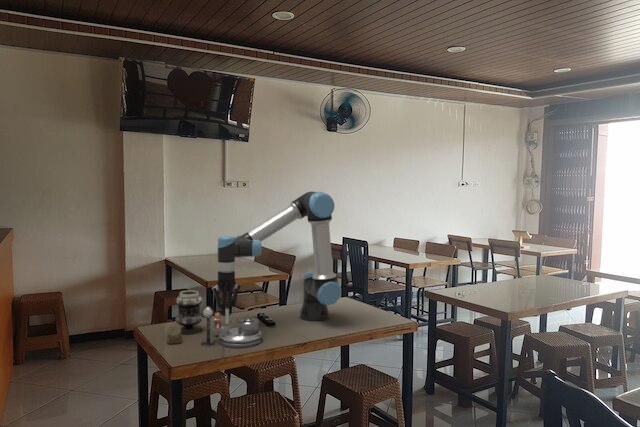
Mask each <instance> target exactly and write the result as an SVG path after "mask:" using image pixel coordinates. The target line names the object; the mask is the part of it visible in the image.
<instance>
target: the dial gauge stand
mask: <svg viewBox="0 0 640 427" xmlns="http://www.w3.org/2000/svg"><path fill="white" fill-rule="evenodd" d="M201 315H202V318H204V319H206V338H203V339H202V340H201V342H200V345H201V346H214V344H215V342H216V338H211V321H214V320H221V321H222V318H221V319H214V318H212V317H213V316H215V309H214V308H213V307H212V306H209V305H208V306H205V307H204V308H202V310H201Z"/></svg>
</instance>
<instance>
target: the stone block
mask: <svg viewBox="0 0 640 427" xmlns="http://www.w3.org/2000/svg"><path fill="white" fill-rule="evenodd" d="M181 328H182V327H181V325H179V326H178V325H177V326H176V325H175V326H167V331H166V336H167V339H166V340H167V343H168V344H169V345H177V344H176V343H178V344H182V333H181ZM174 343H175V344H174Z"/></svg>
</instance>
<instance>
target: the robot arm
mask: <svg viewBox="0 0 640 427" xmlns="http://www.w3.org/2000/svg"><path fill="white" fill-rule="evenodd" d="M334 210H335V202H334V199H333V198H332V196H331V195H329V194H328V193H326V192H323V191H307V192H304V193H303V194H301V195H300V196H299V197H297V198H296V199H294V200H293V201H291V202H290V203H289V205H288V206H287V207H285V208H284V209H282V210H281V211H278V212H277V213H275V214H274V215H272V216H270V218H268V219H266V220H264V221H262V222H261V223H260V224H258V225H257V226H254V227H253V228H252V229H249V230H248V231H247V232H245V233H243V234H242V235H237V236H233V235H221V236H219V237H218V239H217V270H218V271H217V283H216V285H215V286H212V287H211V290H212V291H213V293H214V297H215V301H216V305H217V307H218V308H219V309H221V317H223V323H224V324H228V325H229V324H230V316H231V315H232V308H234V307H236V302H237V300H238V299H237V298H238V296H239V291H240V289H241V285H240V284H237V282H236V271H235V270H236V258H244V257H245V258H250V257H259V256H261V254H262V252H263V250H262V249H263V246H262V242H263V241H265V240H266V239H268V238H269V237H271V236H273V235H274V234H276V233H277V232H279V231H280V230H282V229H283V228H285V227H287V226H288V225H290V224H292V223H293V222H295V221H296V220H302V219H304V218H305V217H307V222H308V223H309V224H310V226H311V236H312V237H311V238H312V250H313V260H314V263H313V264H314V271H313V272H305V273H304V275H303V280H302V281H303V303H302V305H301V308H300V311H299V318H300V319H302V320H305V321H310V322H314V321H316V322H319V321H325V320H328V319H330V310H329V308H328V306H333V305H334V304H335V303H337V302H338V300H339V299H340V298H341V296H342V288H341V286H340V285H339V284H338V279H337V278H338V277H337V274H336V273H335V272H334V271H333V259H332V258H333V256H332V244H331V243H332V242H331V230H330V223H331V221H332V220H333V218H332V216H333V215H332V214H333V212H334ZM219 290H220V292H221V296H220V294H219V293H220V292H219ZM232 291H233V292H232ZM232 293H233V294H232ZM220 297H221V298H220Z"/></svg>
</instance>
